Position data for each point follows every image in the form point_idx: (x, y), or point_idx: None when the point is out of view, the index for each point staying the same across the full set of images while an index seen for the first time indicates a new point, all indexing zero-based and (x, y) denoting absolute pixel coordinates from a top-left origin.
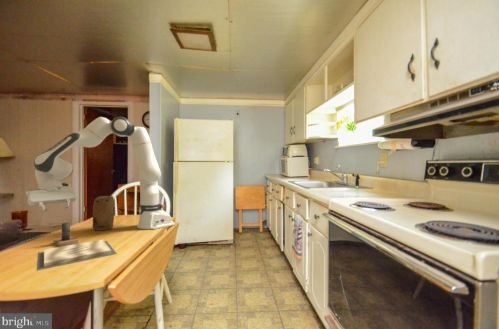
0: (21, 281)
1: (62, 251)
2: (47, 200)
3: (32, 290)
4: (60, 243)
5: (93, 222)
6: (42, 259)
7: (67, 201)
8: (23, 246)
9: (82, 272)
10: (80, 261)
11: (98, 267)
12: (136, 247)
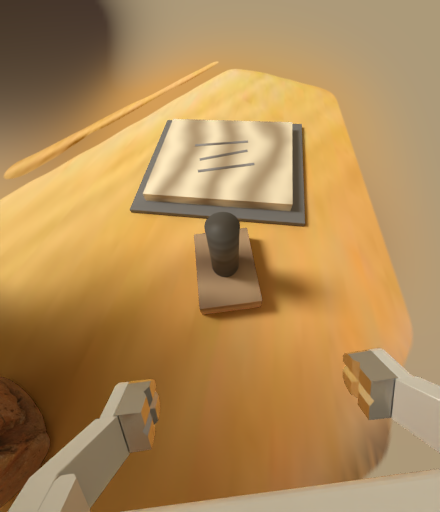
0: (319, 110)
1: (254, 162)
2: (430, 473)
3: (302, 83)
4: (247, 232)
5: (14, 450)
6: (293, 168)
7: (75, 484)
8: None
9: (239, 95)
10: None
11: (215, 98)
12: (116, 138)
